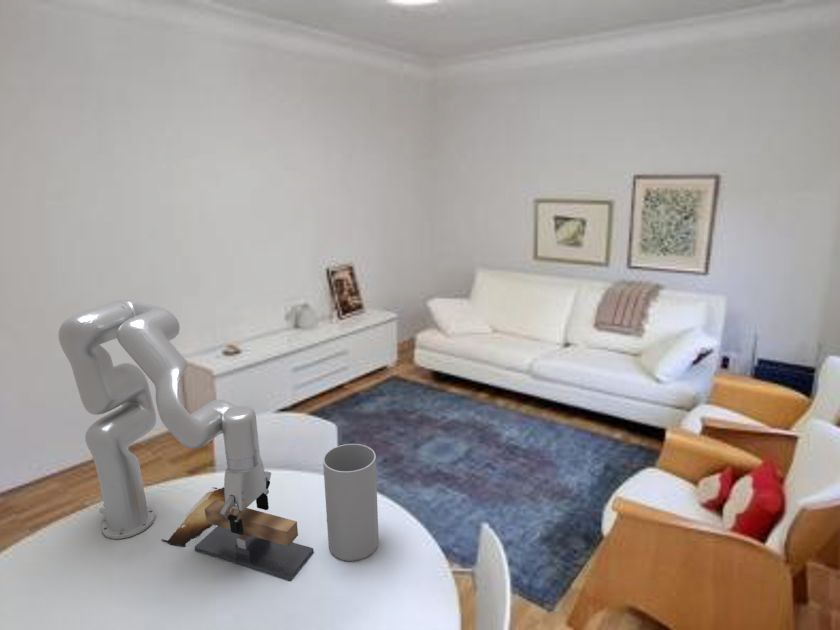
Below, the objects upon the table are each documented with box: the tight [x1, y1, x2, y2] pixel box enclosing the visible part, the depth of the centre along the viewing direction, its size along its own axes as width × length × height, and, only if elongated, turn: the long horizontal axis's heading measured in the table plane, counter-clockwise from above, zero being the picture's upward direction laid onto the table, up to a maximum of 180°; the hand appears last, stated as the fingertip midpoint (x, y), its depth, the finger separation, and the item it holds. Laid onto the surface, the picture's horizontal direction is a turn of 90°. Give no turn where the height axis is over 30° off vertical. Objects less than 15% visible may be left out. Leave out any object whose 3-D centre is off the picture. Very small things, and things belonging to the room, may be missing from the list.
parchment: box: [161, 486, 225, 547], centre depth 148 cm, size 25×10×1 cm, turn 168°
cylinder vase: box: [322, 443, 379, 562], centre depth 133 cm, size 12×12×25 cm
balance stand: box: [193, 526, 315, 582], centre depth 133 cm, size 28×10×7 cm, turn 69°
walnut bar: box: [205, 500, 299, 546], centre depth 132 cm, size 24×4×4 cm, turn 69°
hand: (250, 520), depth 132 cm, fingers open, 9 cm apart
